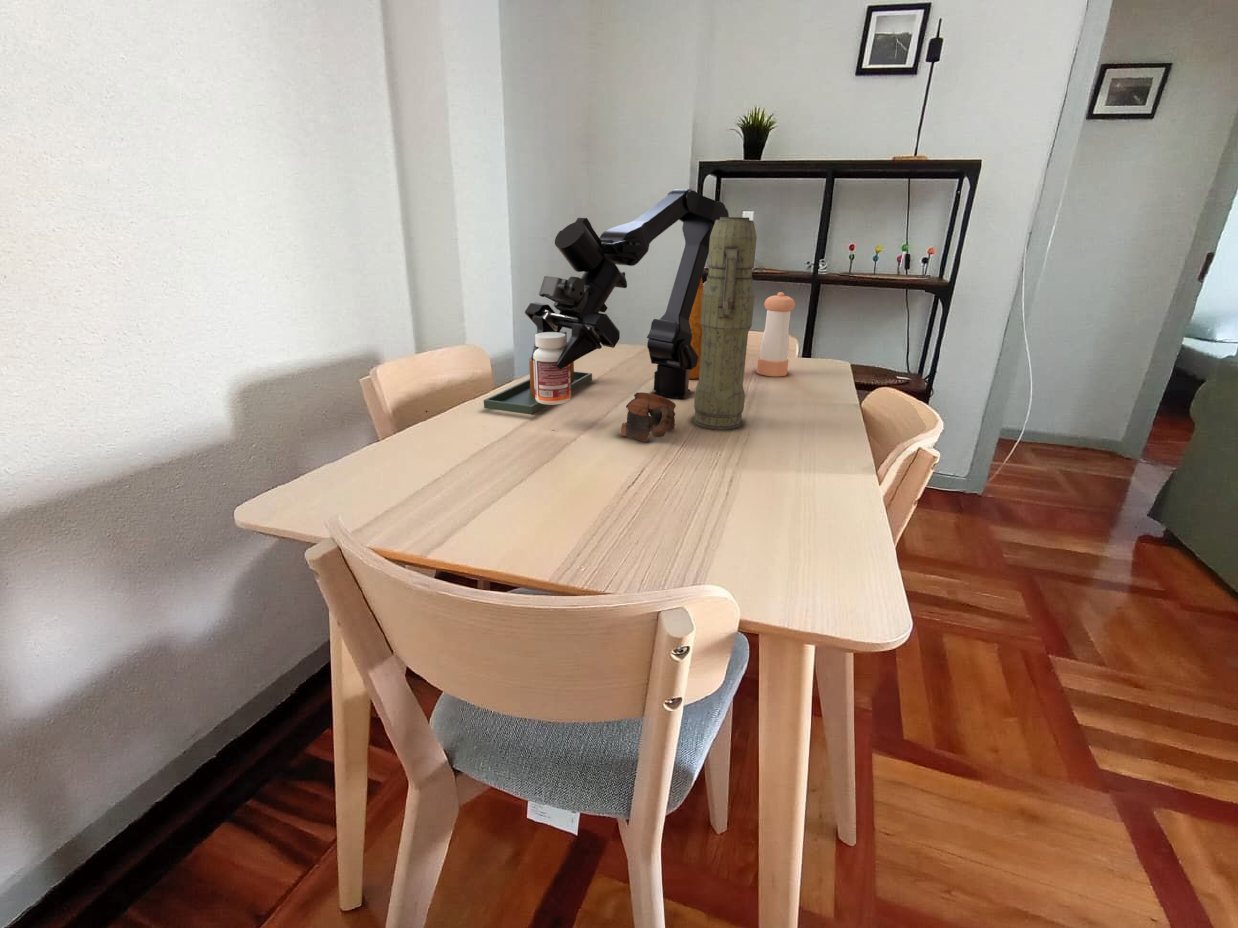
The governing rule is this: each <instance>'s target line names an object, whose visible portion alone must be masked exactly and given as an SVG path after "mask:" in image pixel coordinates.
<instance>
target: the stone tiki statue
mask: <svg viewBox="0 0 1238 928" xmlns="http://www.w3.org/2000/svg"><path fill="white" fill-rule="evenodd" d="M754 221H755V220H753V219H752V220H751V219H750V217H737V216H736V217H735V216H729V217H720V220H716V221H715V224H714V226H713V229H712V232H711V235H710V243H709V254H708V257H707V267H708V273H707V274H708V275H706V282H705V285H704V287H703V289H704V290H703V293H702V305H701V319H700V324H701V327H702V343H701V357H700V371H699V378H698V381H697V384H696V386H695V390H694V399H693V400H694V401H693V408H694V417H693V423H694V424H695V425H697V426H699V427H701V428H704V429H709V430H716V431H727V430H734V429H737V428H740V427H741V425H742V417H743V416H742V415H743V412H744V411H745V410H744V409H745V398H746V393H745V388H744V378H745V368H746V360H747V359H746V358H747V349H748V338H749V332H750V330H751V328H752V325H753V317H754V307H755V297H756V295H755V291H754V286H753V280H754V278H753V277H752V276H753V269H754V268H755V261H756V259H755V258H756V249H757V241H758V238H757V231H756V226H755V222H754Z"/></svg>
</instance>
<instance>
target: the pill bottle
mask: <svg viewBox="0 0 1238 928" xmlns="http://www.w3.org/2000/svg"><path fill="white" fill-rule="evenodd" d="M567 342H568V341H567ZM567 342H566V334H564V333H558V332H544V333H538V334H537V333H535V335H534V344H535V346H537V347H539V348H538V349H537V350H536V351H535V352H534V354H533V364H534V386H535V399H536V401H537V402H539V403H541V404H547V405H548V406H551V405H552V406H554V405H562V404H566V403H568V402H569V401H570V400H571V397H572V392H571V380H570V364H569V365H567V366H566V367H564V368H562V369H559V368H558V367H557V366H556V364H557V362H558V360H559V357H560V356H561V354H562V352H563V350H564V347H565V346H566V345H567Z"/></svg>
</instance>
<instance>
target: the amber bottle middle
mask: <svg viewBox="0 0 1238 928" xmlns="http://www.w3.org/2000/svg"><path fill="white" fill-rule="evenodd" d="M528 362H529V363H528V365H529V366H528V369H529V379H530V393H531V394H533V395H535V386H534V364H533V361H532V359H531V357H530V358H529V359H528Z"/></svg>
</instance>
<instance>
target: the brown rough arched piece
mask: <svg viewBox="0 0 1238 928" xmlns="http://www.w3.org/2000/svg"><path fill="white" fill-rule="evenodd" d="M633 397H634V398H633V399H631V400H630V401H629V402H627V404H626V405H625V408H626V409H627V415H626V422H623V423H621V427H620V436H621V437H627V438H631V439H634V440H638V441H641V442H644V443H647V442H648V441H649V436H650V433H651V434H652V436H653V437H655V438H656V439H658V438H662V437H664V436H665V433H666V432H667V431H671V430H674V429H675V426H676V420H675V416H676V412H675V408H676V407H677V405H676V404H675V402H674V401H672V400H671V399H669V398H668V397H663V396H658V395H655V394H653V393H650V392H642V391H641V392H635V393H634V395H633Z"/></svg>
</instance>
